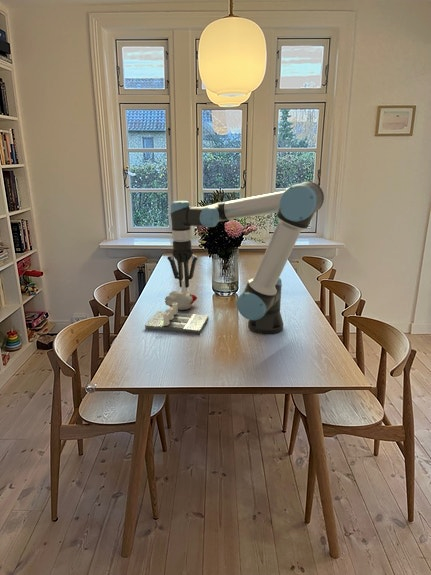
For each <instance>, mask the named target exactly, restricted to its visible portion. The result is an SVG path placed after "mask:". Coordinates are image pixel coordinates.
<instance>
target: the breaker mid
mask: <svg viewBox="0 0 431 575" xmlns="http://www.w3.org/2000/svg"><path fill="white" fill-rule="evenodd" d="M167 312H168V313H169V320H172V319H173V318H174V310H173V308H172V307H170V306H168V308H167Z"/></svg>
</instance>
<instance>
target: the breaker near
mask: <svg viewBox="0 0 431 575" xmlns="http://www.w3.org/2000/svg"><path fill="white" fill-rule="evenodd" d="M163 320H164V325H167V326H168V325H169V323H170V321H169V313H164V314H163Z"/></svg>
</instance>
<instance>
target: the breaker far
mask: <svg viewBox="0 0 431 575" xmlns="http://www.w3.org/2000/svg"><path fill="white" fill-rule="evenodd" d="M172 308H173V310H174V315H176V314H177V313H179V310H178V303H173V304H172Z"/></svg>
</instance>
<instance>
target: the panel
mask: <svg viewBox="0 0 431 575" xmlns="http://www.w3.org/2000/svg"><path fill="white" fill-rule="evenodd" d="M164 313H168V311H159V310H158V311H157V312H156V313H155V314H154V315H153V316H152V317H151V318H150V319H149V320H148V321H147V322H146V324H145V325H144V330H145V331H155V332H165V333H166V332H167V333H174V334H175V333H176V334H177V333H179V334H185V335H186V334H187V335H198V336H200V335H201V333H202V331H203V330H204V328H205V327H206V324H207V323H208V322H209V319H210V318H209V315H207V314H196V313H195V314H194V313H183V312H178V313H177V314H176V315H174V318H173V319H172V320H169V321H170V323H169V325H168V326H167V325H164V320H163V314H164Z"/></svg>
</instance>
